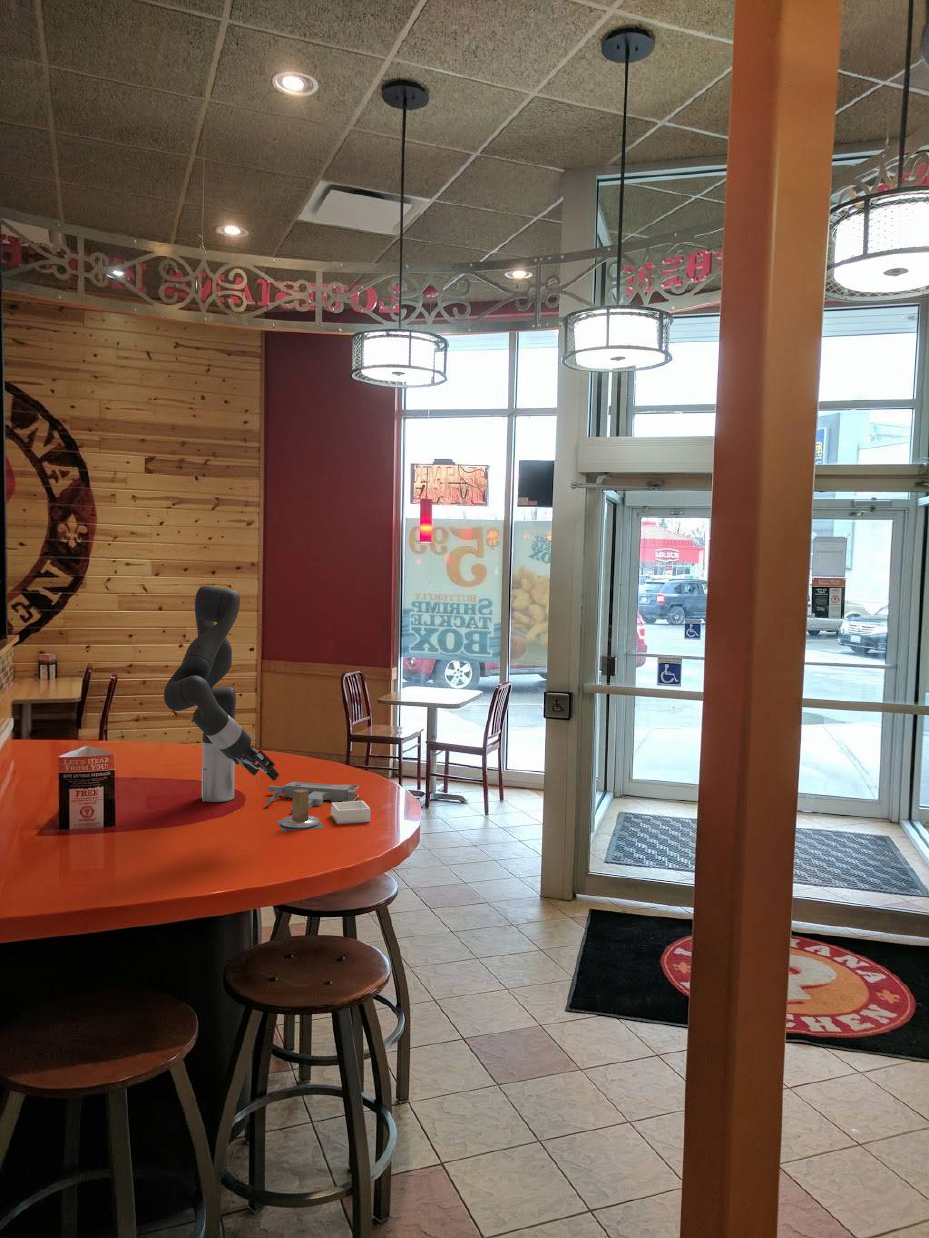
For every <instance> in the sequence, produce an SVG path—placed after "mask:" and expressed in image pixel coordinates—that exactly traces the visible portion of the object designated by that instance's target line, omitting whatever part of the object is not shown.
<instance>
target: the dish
mask: <svg viewBox="0 0 929 1238" xmlns="http://www.w3.org/2000/svg"><path fill="white" fill-rule="evenodd" d="M330 804H331V805H330V806H331V807H330V816H331V818H332V819H333V821H334V822H335V823H336V824H337V825H343V824H344V825H345V824H358V823H359V824H360V823H371V807H370V806H369V805H368V804H367V803H366V802H365V801H364V800H355V801H349V802H337V801H332V802H330Z"/></svg>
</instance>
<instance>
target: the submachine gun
mask: <svg viewBox="0 0 929 1238" xmlns="http://www.w3.org/2000/svg"><path fill="white" fill-rule="evenodd" d="M298 789H304V790H308V791H309V804H308V810H309V809H311V808H313V807H321V806H322V805H324V804H323V802H324V800H330V801H329V802H337V801H342V802H349V801H357V799H358V798H359V797H360V795H359V794H358V793H355V792H356V791H357V790H358V789H360V785H358V784H332V783H331V784H329V783H316V782H303V781H291V782H289V783H287V784H285V785H281V786H279V785H277V786H276V785H268V786H267V791H268V792H271V793H272V792H273V794H272V796H270V797H269V798H268V799H266V801H265V804H264V805H265V806H267V805H268V804H269V803H271V802H273V801H274V800H275V799H277V798H278V797H280V796H281V798H282V799H284V798H285V797H289V798H288V799H293V790H298ZM354 796H355V797H354ZM290 814H291V815H292V808H290Z"/></svg>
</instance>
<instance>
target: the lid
mask: <svg viewBox="0 0 929 1238" xmlns="http://www.w3.org/2000/svg"><path fill="white" fill-rule="evenodd" d="M291 799H292V800H291V801H292V806H291V807H292V814H291V816H286V817H284V818H282V819H280V820H281V826H282V827H285V828H289V829H307V830H309V829H308V828H313V827H316V826H318V825H319V821H320V818H319V817H317V816H312V815H309V809H308V804H309V791H308V790H304V789H298V790H293V798H291Z"/></svg>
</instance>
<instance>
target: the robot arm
mask: <svg viewBox="0 0 929 1238" xmlns="http://www.w3.org/2000/svg"><path fill="white" fill-rule="evenodd" d="M240 596H241V595H240V594H239V592H238V591H236V590H234V589H230V588H225V587H219V586H215V585H214V586H212V585H202V586H200V587H199V588H198V589H197V592H196V595H195V598H194V615H195V622H196V632H197V637H196V638H195V639H194V640H193V641H192V642H191V643H190V644H189V646H188V647H187V650H186V652H185V654H184V657H183V659H182V662H181V665H180V666H179V667H178V668H177V669H176V670H175V672H174V674H173V675H172V676H171V677H170V678H169V680H168V681H167V683H166V685H165V687H164V690H163V691H164V692H163V700H164V704H165V705H166V707H167V708H168V709H170V710H172V711H175V712H181V711H185V710H187V709H191V708H192V707H193V708H194V707H196V709H195V711H194V712H193V715H192V721H193V722H194V724H195V725H196V727H198V728H199V729H200V730H201V731H202V732H203V733H202V738H201V739H202V748H201V749H202V753H201V755H202V762H201V763H202V765H201V800H202V802H211V803H219V802H220V803H221V802H228V801H231V800H234V799H235V764H236V765H238V766H239V765H240V766H241V767H242V768H245V769H246V771H248V773H249V774H250V775H251V776H256V775H257V774H258V772H259V771H262V772H263V773H265V774H266V776H268V778H269V779H270V780H271V781H276V780H277V779H278V777H279V776H280V773H279V772H278V771H277V770H276V769H275V768H274V767H275V765H276V763H274V762H273V760H272V759H271V758H269V757H268V756H267V754H266V753H265V752H263V750H261V749H259V750H258V751H257V749H256V748H254V747H252V746H251V744H252V738H251V736H250V735H249V734H248V732H247V731H246V730H245V729H244V728H243V727H241V725H240V724H239V723H238V722H237V721H236V707H237V706H236V704H237V694H236V690H235V689H234V688H233V687H231V686H215V685H216V684H217V683H219V682H220V681H221V680H222V679H223V678H224V677H225V676H226V675H227V674H228V673H229V671H230V669H231V667H232V665H233V664H232V663H233V662H232V660H233V657H232V655H233V654H232V653H233V650H232V649H233V647H232V644H231V643H230V641H229V640H228V638H227V636H228V635H229V633H230V631H231V629H232V628H233V626H234V624H235V621H236V620H237V618H238V614H239V611H240V607H241V597H240ZM256 763H257V764H256Z"/></svg>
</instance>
